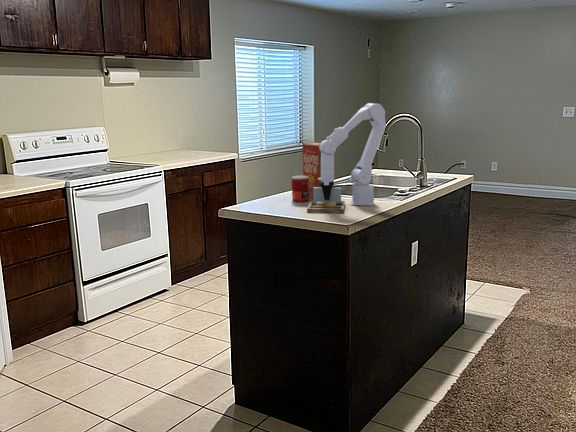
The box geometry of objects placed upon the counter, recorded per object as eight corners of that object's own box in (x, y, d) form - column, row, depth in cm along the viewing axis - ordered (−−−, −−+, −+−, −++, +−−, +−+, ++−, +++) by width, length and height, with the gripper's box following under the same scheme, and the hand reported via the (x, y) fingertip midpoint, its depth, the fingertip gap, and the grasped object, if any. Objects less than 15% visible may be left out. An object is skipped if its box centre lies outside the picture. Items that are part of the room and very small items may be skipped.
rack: (344, 204, 252) (344, 201, 251) (343, 213, 234) (343, 209, 234) (310, 204, 253) (310, 200, 253) (307, 212, 236) (307, 208, 236)
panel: (340, 205, 250) (341, 187, 248) (340, 206, 248) (341, 188, 246) (313, 205, 252) (313, 187, 250) (313, 206, 250) (313, 188, 248)
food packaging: (301, 195, 275) (301, 143, 270) (316, 193, 281) (316, 142, 275) (319, 199, 265) (319, 145, 259) (334, 196, 270) (335, 143, 265)
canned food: (304, 202, 257) (303, 178, 254) (289, 201, 261) (288, 177, 258) (312, 199, 263) (311, 175, 261) (297, 198, 267) (296, 175, 265)
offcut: (336, 208, 244) (336, 202, 243) (335, 210, 241) (335, 203, 241) (317, 208, 246) (317, 201, 245) (316, 209, 243) (316, 202, 242)
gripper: (319, 165, 254) (319, 196, 257) (316, 170, 240) (316, 202, 243) (335, 166, 253) (334, 196, 256) (333, 170, 239) (333, 202, 242)
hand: (327, 199), depth 249 cm, fingers closed on panel, 2 cm apart
